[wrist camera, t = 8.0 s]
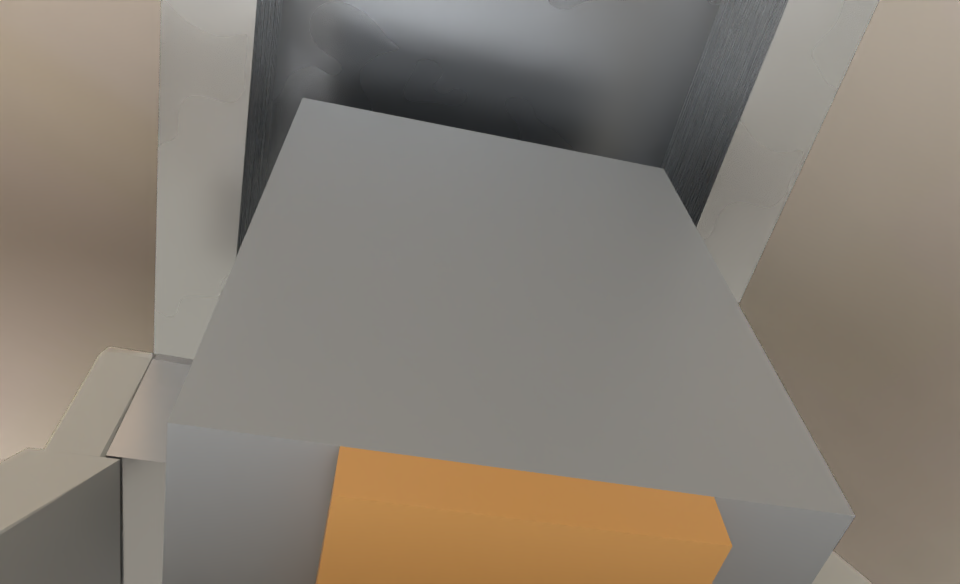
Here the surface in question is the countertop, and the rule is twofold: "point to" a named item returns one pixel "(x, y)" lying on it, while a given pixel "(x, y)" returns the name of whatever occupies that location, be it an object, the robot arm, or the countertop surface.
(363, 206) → the module
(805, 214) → the countertop surface
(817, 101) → the rail
